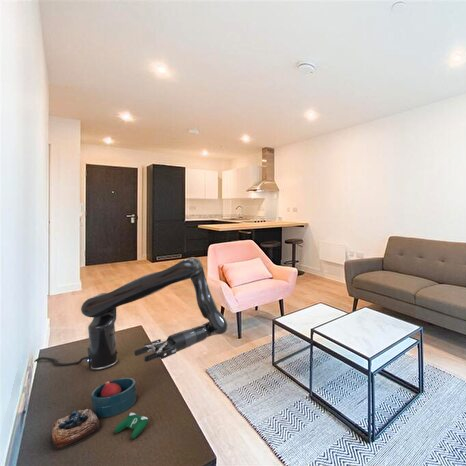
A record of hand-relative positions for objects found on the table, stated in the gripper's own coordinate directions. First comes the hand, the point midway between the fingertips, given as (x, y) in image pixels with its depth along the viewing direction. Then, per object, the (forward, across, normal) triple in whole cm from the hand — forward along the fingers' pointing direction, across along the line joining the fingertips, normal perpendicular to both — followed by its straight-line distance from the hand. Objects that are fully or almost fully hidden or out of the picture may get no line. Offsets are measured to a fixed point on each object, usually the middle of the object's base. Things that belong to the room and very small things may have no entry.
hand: (139, 356), depth 113 cm
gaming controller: (+11, +19, +15) cm, 27 cm away
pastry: (+21, +5, +15) cm, 26 cm away
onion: (+9, 0, +14) cm, 16 cm away
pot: (+9, 0, +15) cm, 17 cm away
